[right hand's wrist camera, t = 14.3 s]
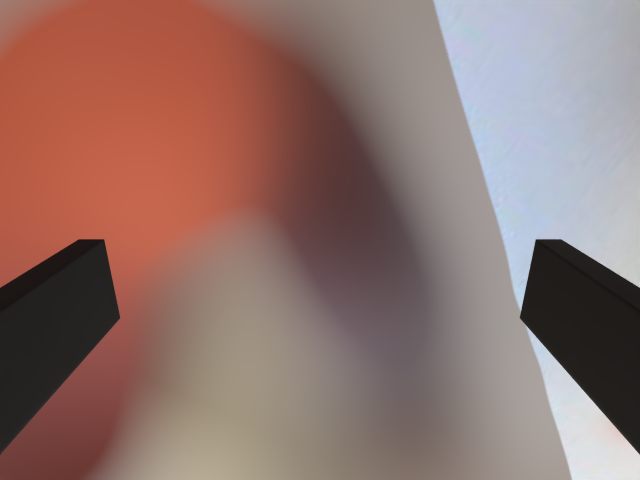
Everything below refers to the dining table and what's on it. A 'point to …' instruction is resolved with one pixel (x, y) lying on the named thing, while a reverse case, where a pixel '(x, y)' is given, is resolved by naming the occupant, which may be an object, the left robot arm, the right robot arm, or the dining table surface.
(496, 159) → the dining table surface
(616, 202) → the dining table surface
